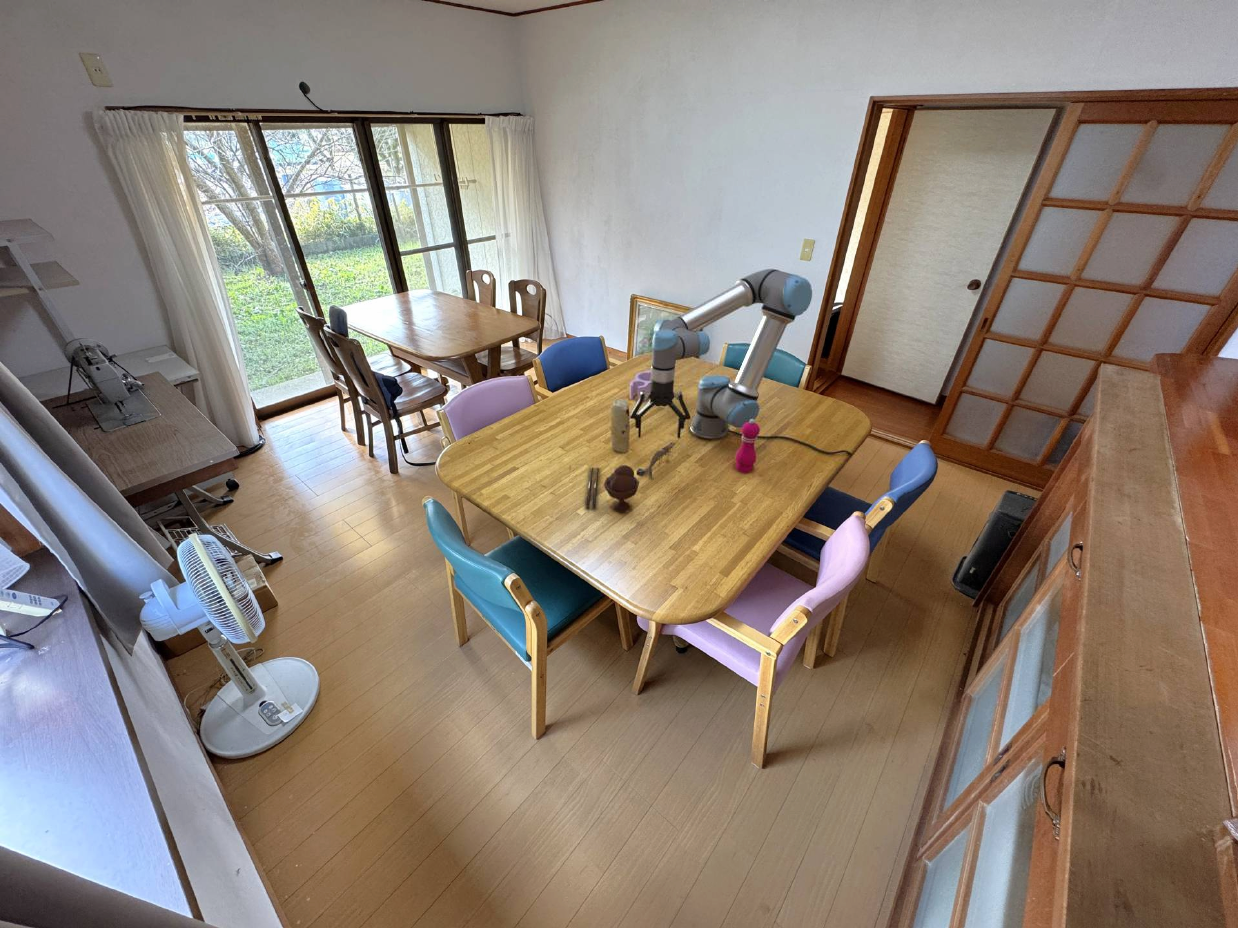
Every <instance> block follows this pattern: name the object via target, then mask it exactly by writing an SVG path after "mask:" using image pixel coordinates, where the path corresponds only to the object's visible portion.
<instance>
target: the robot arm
mask: <svg viewBox="0 0 1238 928" xmlns="http://www.w3.org/2000/svg"><path fill="white" fill-rule="evenodd" d="M812 299H813V289H812V285H811V283H810V281H809V280H808V279H807V278H805V277H802V276H800V275H798V274H794V273H790V272H786V271H781V270H779V269H775V268H768V269H762V270H759V271H756V272H753V273H751V274H749V275H746V276H745V277H742V278H740V279H739V280H737V281H736V282H735V284H734V286H731V287H730V288H728V289H727V290H725V291H723V292H721V293H719V294H717V295H716V296H713V297H712V298H710V299H708V300H705V301H704V302H702V303H701V304H699V305H697V306H695V307H692V308H691V309H689V310H687V311H686V312H683V313H682V314H680V315H679V316H677V317H675V318H673V319H666V318H662V319H660V320H658V321H657V322H656V323H655V325H654V327H653V335H652V343H651V367H650V370H651V386H650V392H649V393H644V391H641V394H640V398H639V400H638V399H637V402H635V404H634V406H633V408H632V410H631V412H629V419H631V420H634V421H635V422H634V423H635V425H634V426H635V429H638V431H637V432H638V433H637V436H638V437H637V438H638V439H640V438H641V437H642V418H643V416H644V415H645V414H646V413H648V412H649V411H650V409H652V408H653V407H654V406H656V407H668V408H670V409H671V411H673V412H674V413H675V415H676V416H677V417H678V419H677V420H678V422H677V430H676V431H677V433H676V435H677V439H681V434H682V433H681V431H682V430H684V428H685V422H686V421H687V420H691V414H690V412H689V409H688V407H687V405H686V404H685V403H686V402H685V400H684V398H683V397H684V396H683V392H682V391H678V392H675V393H674V385H675V380H674V379H675V374H676V373H675V372H676V363H677V362H676V361H679V360H685V359H689V358H698V357H700V356H703V355H706V354H708V353H709V351H710V348H711V339H710V336H709V335H708V334H707V333H706V332H705V331H701V330H702V329H705V328H706V327H708V326H710V325H711V324H713V323H715V322H717V321H719V320H721V319H723V318H724V317H726V316H728V315H730V314H732V313H734V312H735V311H737V310H739V309H741V308H742V307H746V308H748V307H751V306H752V305H756V304H762V306H761V309H760V310H761V313H762V318H761V319H760V322H759V325H758V327H757V329H756V331H755V334H754V336H753V338H752V340H751V343H750V344H749V347H748V350H747V352H746V353H745V356H744V359H743V361H742V364H741V365H740V368H739V370H738V373H737V375H736V377H735V380H734V381H731V379H730V378H729V377H728V376H725V375H719V374H713V375H711V374H710V375H706V376H704V377H702V378H701V379H700V380H699V383H698V387H697V401H696V412H695V414H694V417H693V418H692V420H691V422H690V426H689V431H690V433H691V434H692V435H693V436H695V437H697V438H698V439H702V440H707V441H709V440H710V441H716V440H721V439H723V438H725V437H726V436H727V435H728V434H729V433H731V434H735V435H736V436H740V437H742V435H743V433H739V432H737V431H734V430H730V429H729V425H731V426H732V427H734V428H737V429H742V427H743V425H744V424H745V423H747V422H749V421H750V420H751V419H754V420H755V421H756V419H757V417H758V416H759V413H760V410H761V409H760V404H759V403H758V399H759V397H760V393H759V391H758V389H759V388H760V385H761V382H762V380H763V378H764V376H765V373H766V371H767V369H768V367H769V365H770V363H771V360H772V359H773V356H774V355H775V352H776V350H777V347H778V345H779V343H780V341H781V339H782V336H783V334H784V332H785V330H786V327H787V326H788V325H789V324H791V323H793V322H794V321H795V319H796V317H798V316H801V315H804V313H805V312H806V311H807V310H808V308H809V307H810V305H811V302H812ZM647 397H648V398H647ZM646 398H647V399H649V400H648V401H647V403H646V404H645V405H644V406H643V407H642V405H643V403H644V402H645V401H646V400H647V399H646ZM645 399H646V400H645ZM674 399H676V400H678V402H679V405H680V407H681V409H682V411H683V412H682V411H681V410H680V409H679V408H678V406H677V405H676V404H675V402H674V401H673V400H674ZM641 407H642V408H641ZM757 439H784V440H789V441H793V442H795V443H798V444H800V445H804V446H806V447H808V448H811V449H813V450H815V451H818V452H819V453H823V454H827V455H836V454H841V453H846V454H848V456H852V453H851V452H850V451H848V450H846V449H843V450H837V451H826V450H822V449H820V448H817V447H816V446H814V445H813V444H812V445H811V444H809V443H807V442H804V441H801V440H799V439H796V438H792V437H789V436H782V435H770V436H769V435H767V436H766V435H764V436H763V435H757Z"/></svg>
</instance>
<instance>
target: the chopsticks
mask: <svg viewBox="0 0 1238 928" xmlns="http://www.w3.org/2000/svg"><path fill="white" fill-rule="evenodd" d="M593 474H594V468H593V467H590V471H589V480H588V488H587V494H586V495H587V496H586V504H585V509H587V510H589V509H590V502H591V501H590V500H591V491H592V483H593ZM598 480H599V467H596V468H595V476H594V486H593V497H592V507H591V508H592V510H595V509H596V503H597V491H598V483H599V482H598Z"/></svg>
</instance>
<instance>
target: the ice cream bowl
mask: <svg viewBox="0 0 1238 928" xmlns="http://www.w3.org/2000/svg"><path fill="white" fill-rule="evenodd" d="M603 486H604V489H605V491H606V492H607V495H609V497H611V498H612V499H615V500H618V501H616V502H614V503H613V505H612V507H613V510H614V511H615V512H617V513H626V512H628V511H630V508H631V504H630V503H629V502H628V501H626V500H628V499H630V498H632V497H635V495H636V493H637V492H638V489H639V486H640V481H639V480H638V479H637V478H636V476H635V471H634V469H633V468H632V467H631V466H629V465H627V464H622V465H619V466H618V467H616V468H615V469H614V471H613V472H612V473H610V476H608V477H606V478H605V481H604V483H603Z"/></svg>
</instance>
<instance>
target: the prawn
mask: <svg viewBox="0 0 1238 928" xmlns="http://www.w3.org/2000/svg"><path fill="white" fill-rule="evenodd" d="M676 444H677V442H675V440H674V441H671V442H670V443H668V444H667V445H665V446H663V447H662V448H660V449H657V451H655V452H654V454H653V455H652V458H651V461H650V463H649V465H648V466H647V467H645V469H643V468H641V467H639V468H638V469H636V476H638V477H642V476H644V475H647V474H648V477H649V478H652V477H653V467H654V466H655V465H656V463H657V462H658V466H657V467H659V466H660V464H661V461H662V460H663V457H664V456H666V457H669V456H670V455H671V457H670V458H671V459H672V458H673V453H674V451H672V450H674V447H675V445H676ZM671 449H672V450H671ZM652 450H655V448H654V449H652ZM668 460H669V458H667V459H666V462H668Z"/></svg>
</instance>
